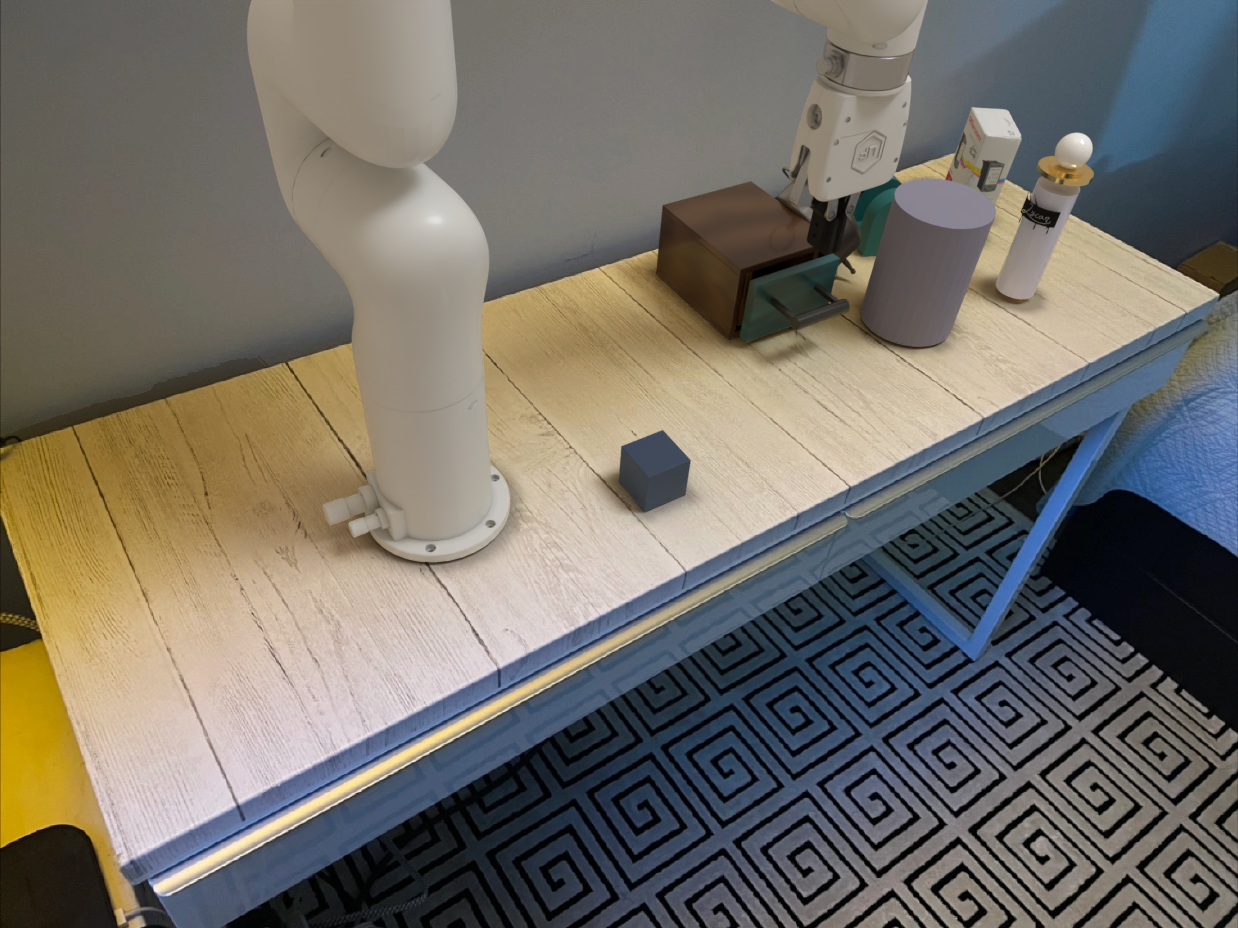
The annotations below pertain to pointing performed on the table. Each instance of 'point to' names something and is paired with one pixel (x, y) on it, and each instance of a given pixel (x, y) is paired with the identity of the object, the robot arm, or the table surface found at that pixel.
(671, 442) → the block
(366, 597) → the table surface
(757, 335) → the drawer
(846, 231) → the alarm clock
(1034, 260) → the perfume bottle
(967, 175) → the ink box
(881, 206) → the bracket
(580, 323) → the table surface
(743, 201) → the cabinet
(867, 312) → the container
